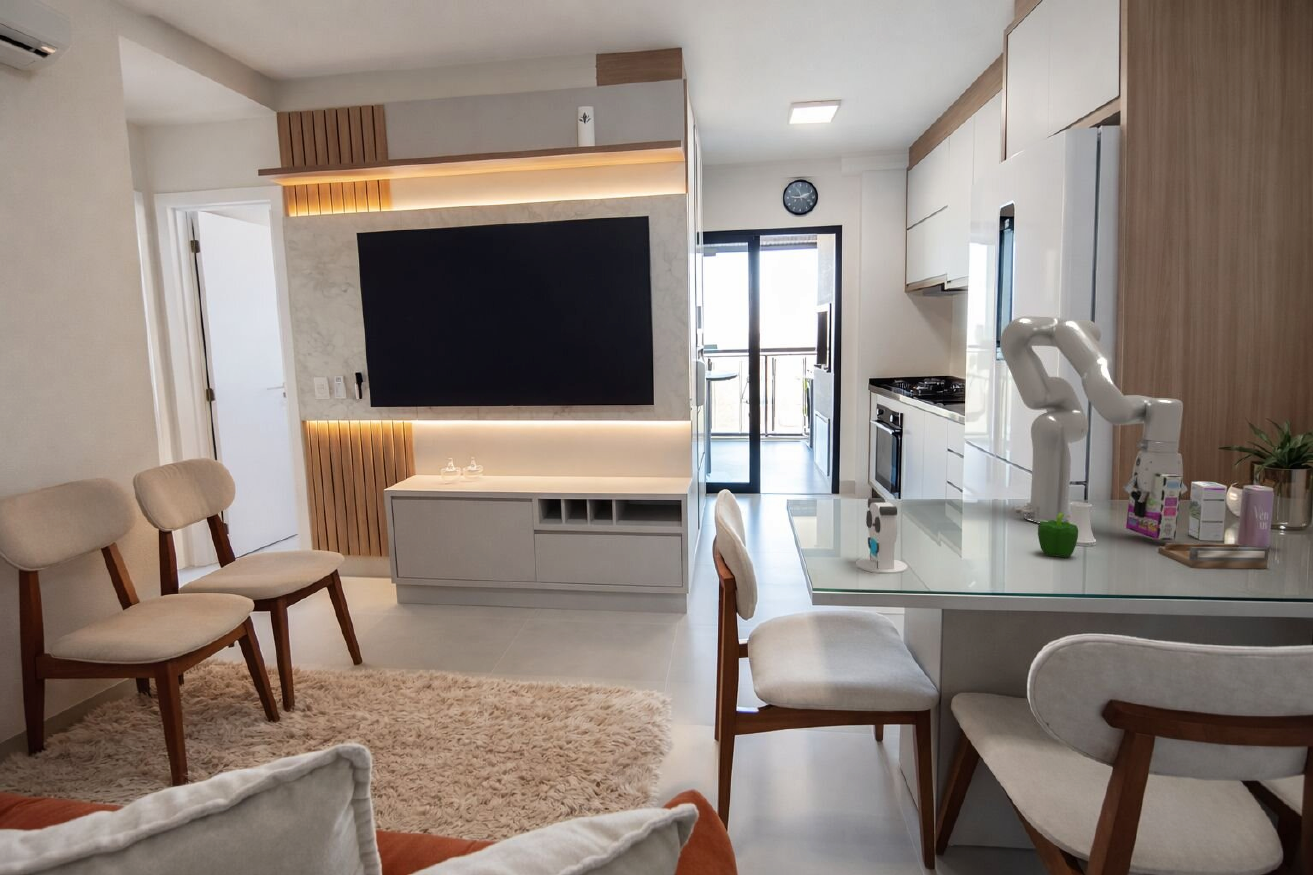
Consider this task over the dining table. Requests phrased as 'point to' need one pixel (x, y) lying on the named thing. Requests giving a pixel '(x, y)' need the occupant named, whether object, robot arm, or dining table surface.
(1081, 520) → the vase
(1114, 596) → the dining table surface
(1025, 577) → the dining table surface
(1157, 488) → the candy bar box
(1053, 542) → the bell pepper
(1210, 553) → the wooden tray
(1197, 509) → the syrup box
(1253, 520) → the beverage can
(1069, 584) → the dining table surface
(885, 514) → the panda figurine
